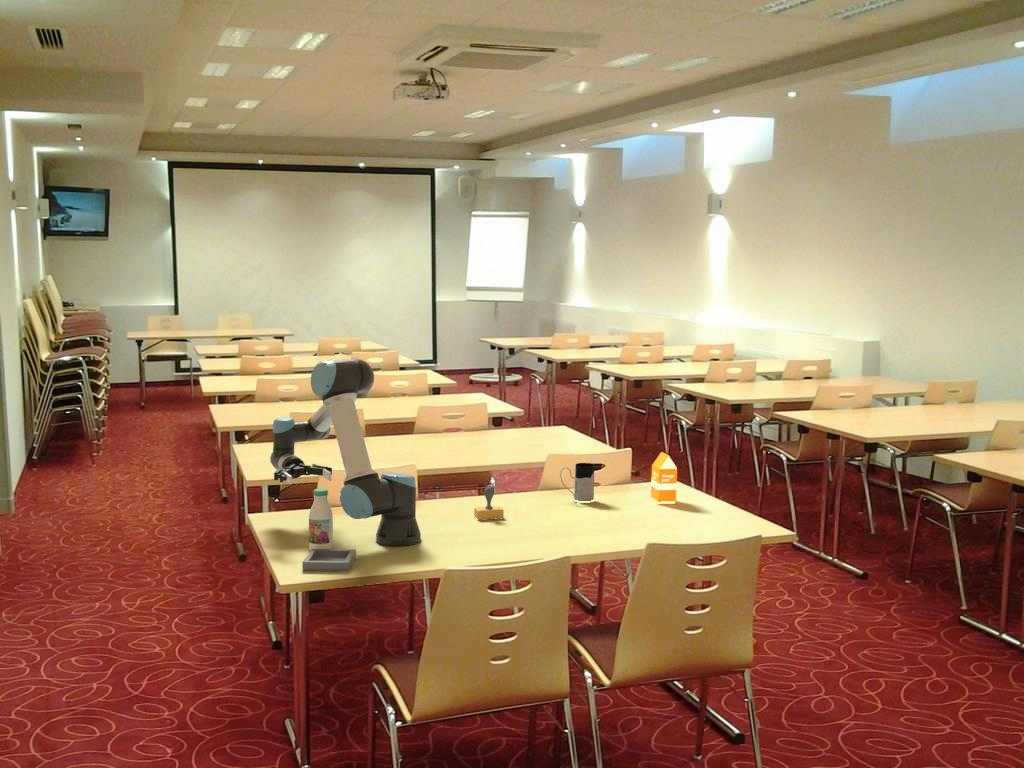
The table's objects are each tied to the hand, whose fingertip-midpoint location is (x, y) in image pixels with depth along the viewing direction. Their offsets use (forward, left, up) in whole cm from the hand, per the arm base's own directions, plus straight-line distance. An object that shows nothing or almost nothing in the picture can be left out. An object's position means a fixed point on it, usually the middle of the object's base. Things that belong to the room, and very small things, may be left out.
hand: (310, 478), depth 320 cm
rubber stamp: (-59, -35, -22) cm, 72 cm away
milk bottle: (-5, +9, -22) cm, 24 cm away
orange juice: (-129, -65, -22) cm, 146 cm away
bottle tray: (-11, +25, -22) cm, 35 cm away
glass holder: (-94, -64, -22) cm, 116 cm away
